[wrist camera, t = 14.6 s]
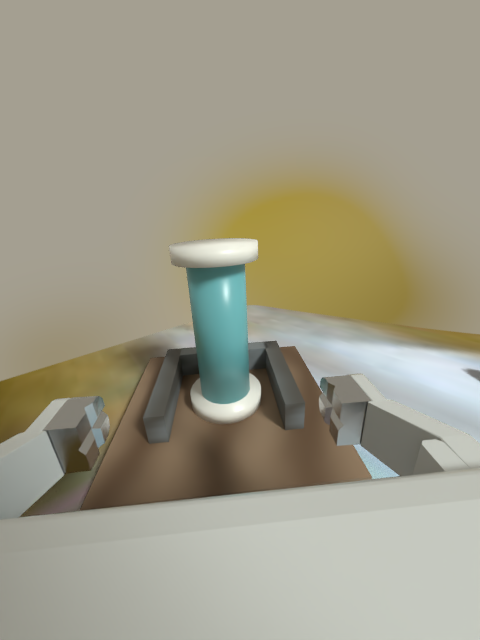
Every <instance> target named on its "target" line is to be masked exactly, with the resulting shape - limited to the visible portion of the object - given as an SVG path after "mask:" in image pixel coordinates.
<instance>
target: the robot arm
mask: <svg viewBox="0 0 480 640" xmlns="http://www.w3.org/2000/svg"><path fill="white" fill-rule="evenodd" d="M320 388H321V389H322V391H323V393H322V394H321V395H320V396H319V408H320V413H321V416H322V418H323V420H324V422H325V423H327V424H328V425H330V426H329V432H330V434H331V436H332V438H333V440H334V442H335V443H336V445H337V446H342V445H356V444H361V446H362V447H363V448H365V449H366V450H367V451H369V452H370V453H371V454H372V455H374V456H375V457H376V458H378V459H379V460H380V461H381V462H383V463H384V464H385V465H387V466H388V467H389V468H390V469H392V470H393V471H394V472H396V473H397V474H398V475H400V476H398V477H389V478H380V479H371V480H362V481H352V482H343V483H334V484H325V485H315V486H306V487H297V488H287V489H278V490H268V491H259V492H249V493H240V494H231V495H222V496H212V497H203V498H194V499H185V500H175V501H166V502H157V503H148V504H139V505H129V506H120V507H111V508H101V509H92V510H83V511H74V512H64V513H55V514H46V515H37V516H27V517H20V516H21V515H22V514H23V513H24V512H25V511H26V510H27V509H28V508H29V507H30V506H31V505H32V504H34V503H35V502H36V501H37V500H38V499H39V498H40V497H41V496H42V495H43V494H44V493H45V492H47V491H48V490H49V489H50V488H51V487H52V486H53V485H54V484H55V483H56V482H57V481H58V480H59V479H61V478H62V477H63V476H64V474H66V473H74V472H81V471H89V470H91V469H92V467H93V465H94V463H95V461H96V459H97V457H98V455H99V450H98V448H99V447H100V446H101V445H102V444H104V443H105V441H106V439H107V437H108V433H109V428H110V426H109V418H108V415H107V414H105V413H104V412H103V411H102V409H103V408H104V406H105V405H104V402H103V399H102V398H101V397H100V396H93V397H77V398H64V399H56V400H53V401H52V402H51V403H50V404H49V405H48V407H47V408H46V409H45V410H44V411H43V412H42V413H41V414H40V415H39V417H38V418H37V419H36V420H35V421H34V422H33V423H32V424H31V426H30V427H29V428H28V429H27V430H26V431H25V432H24V433H19V434H17V435H15V436H13V437H12V438H10V439H8V440H6V441H5V442H3V443H1V444H0V640H480V443H478V442H477V441H476V440H475V439H474V438H473V437H472V436H470V435H469V434H467V433H464V432H462V431H460V430H458V429H456V428H453V427H451V426H449V425H447V424H444V423H442V422H440V421H438V420H436V419H433V418H431V417H429V416H427V415H424V414H422V413H420V412H418V411H415V410H413V409H411V408H409V407H407V406H404V405H402V404H400V403H398V402H395V401H393V400H387V399H386V398H385V397H384V396H383V395H382V394H381V393H380V392H379V391H378V390H377V388H376V387H375V386H374V385H373V384H372V383H371V382H370V381H369V380H368V379H367V378H366V377H365V375H363V374H361V373H360V374H351V375H345V376H334V377H324V378H322V379H321V383H320Z"/></svg>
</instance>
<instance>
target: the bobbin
mask: <svg viewBox="0 0 480 640" xmlns="http://www.w3.org/2000/svg"><path fill="white" fill-rule="evenodd" d="M169 249H170V256H171V263H172V265H175V266H178V267H186V271H187V279H188V286H189V294H190V303H191V311H192V319H193V327H194V335H195V343H196V351H197V359H198V367H199V375H200V378H199V379H198V380H196V382H195V383H194V384H193V386H192V388H191V392H190V395H191V402H192V408H193V410H194V412H195V414H196V415H197V416H198V417H200V418H201V419H203V420H205V421H207V422H210V423H215V424H231V423H236V422H239V421H242V420H244V419H247V418H248V417H250V416H251V415H252V414H254V413H255V412H256V411H257V409H258V408H259V406H260V403H261V385H260V382H259V380H258V379H257V378H256V377H255V376H254V375H252V374H251V373H249V354H248V330H247V306H246V281H245V263H249V262H253V261H255V260H257V259H258V241H257V240H254V239H244V238H241V239H240V238H227V239H207V240H197V241H188V242H181V243H175V244H172V245H169Z"/></svg>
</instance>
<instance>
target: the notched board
mask: <svg viewBox="0 0 480 640" xmlns="http://www.w3.org/2000/svg"><path fill="white" fill-rule="evenodd" d="M248 354H249V373H251V374H252V375H254V376H255V377H256V378H257V379H258V380H259V382H260V385H261V403H260V406H259V408H258V409H257V411H256V412H255V413H254V414H252V415H251V416H250V417H248V418H247V419H244V420H242V421H239V422H236V423H231V424H215V423H210V422H207V421H205V420H203V419H201V418H200V417H198V416H197V415H196V414H195V412H194V410H193V408H192V402H191V395H190V392H191V388H192V386H193V384H194V383H195V382H196V380H198V379H199V378H200V375H199V367H198V359H197V351H196V347H194V348H181V349H169V350H168V351H167V354H166V356H165V357H157V358H150V360H149V362H148V365H147V367H146V369H145V371H144V373H143V375H142V378H141V380H140V382H139V384H138V386H137V388H136V390H135V393H134V395H133V397H132V399H131V401H130V403H129V405H128V408H127V410H126V412H125V414H124V416H123V418H122V420H121V423H120V425H119V427H118V429H117V431H116V433H115V435H114V438H113V440H112V442H111V444H110V446H109V448H108V450H107V453H106V455H105V457H104V459H103V461H102V463H101V465H100V468H99V470H98V472H97V474H96V476H95V478H94V480H93V483H92V485H91V487H90V489H89V491H88V493H87V496H86V498H85V500H84V502H83V504H82V506H81V508H80V511H83V510H92V509H101V508H111V507H120V506H129V505H139V504H148V503H157V502H166V501H175V500H185V499H194V498H203V497H212V496H222V495H231V494H240V493H249V492H259V491H268V490H278V489H287V488H297V487H306V486H315V485H325V484H334V483H343V482H352V481H362V480H371V479H372V476H371V475H370V473H369V471H368V470H367V468H366V466H365V464H364V463H363V461H362V459H361V458H360V456H359V454H358V453H357V451H356V449H355V447H354V446H353V445H342V446H337V445H336V443H335V442H334V440H333V438H332V436H331V434H330V432H329V426H330V425H328V424H327V423H325V422H324V420H323V418H322V416H321V413H320V408H319V396H320V395H321V394H322V391H321V390H320V388H319V386H318V385H317V383H316V381H315V380H314V378H313V376H312V375H311V373H310V371H309V369H308V368H307V366H306V364H305V363H304V361H303V359H302V358H301V356H300V354H299V352H298V351H297V349H296V347H295V346H291V347H279V345H278V343H277V341H268V342H255V343H248Z"/></svg>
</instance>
